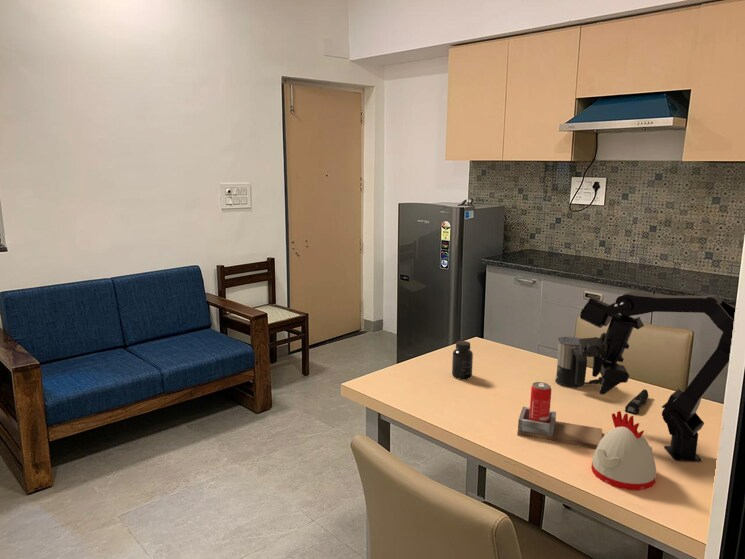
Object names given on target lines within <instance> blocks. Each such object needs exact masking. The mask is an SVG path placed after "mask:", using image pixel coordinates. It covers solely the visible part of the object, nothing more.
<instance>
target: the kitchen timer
mask: <svg viewBox="0 0 745 559" xmlns="http://www.w3.org/2000/svg"><path fill="white" fill-rule="evenodd" d="M611 419H612V421H613V425H614V428H612V429H610V430H609V431H608V432H606V433H605V435H604V436H602V439H601V441H600V442H599V444H598V446H597V448H596V449H595V451H594V454H593V457H592V460H591V471H592V473H593V474H594V476H595V477H596V478H597V479H599V480H600V481H601V482H604V483H605V484H607V485H609V486H611V487H615V488H618V489H621V490H622V489H623V490H627V491H643V490H644V491H645V490H649V489H650V488H652V487H653V486H654V485H655V484H656V478H657V467H656V466H657V465H656V460H655V457H654V453H653V448H652V446H651V445H649V443H648V441H647V440H646V438H645V436H643V434H644V432H645V430H644V429H643V430H641V431H638V427H639V426H640V422H637V423H635V424H634V422H635V421H634V415H631V416H629V413H624V414H623V416H622V412H621V410H619V411H617V412H616V414H615V413H611Z"/></svg>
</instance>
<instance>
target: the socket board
mask: <svg viewBox="0 0 745 559" xmlns="http://www.w3.org/2000/svg"><path fill="white" fill-rule="evenodd" d="M529 414H530V406H529V407H528V406H523V407H522V409H521V411H520V414H519V418H518V420H517V421H518V424H517V436H520V435H521V437H527V438H533V439H538V440H544V441H549V442H554V443H561V444H565V445H571V446H572V445H573V446H578V447H584V448H589V449H595V450H596V448H597V446H598V444H599V442H600V441H601V439H602V438H603V436H602V435H603V428H600V427H594V426H587V425H581V424H577V423H576V424H575V423H570V422H565V421H557V420H556V418H557V411H553V410H550V415H549V423H545V422H539V421H532V420H529Z"/></svg>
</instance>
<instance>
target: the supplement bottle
mask: <svg viewBox="0 0 745 559" xmlns="http://www.w3.org/2000/svg"><path fill="white" fill-rule="evenodd" d="M473 356H474V353H473V351H472V350H471V342H470V341H466V340H458V341H456V342H455V349H454V350H453V352H452V358H451V359H452V362H451V363H452V365H451V376H452V375H453V376H454V377H456V378H460V379H459V380H461V379H465V380H469V379H471V378H472V376H473V360H474V357H473ZM453 376H452V377H453ZM454 377H453V378H454ZM470 377H471V378H470ZM456 378H455V379H456ZM468 378H469V379H468Z"/></svg>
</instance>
